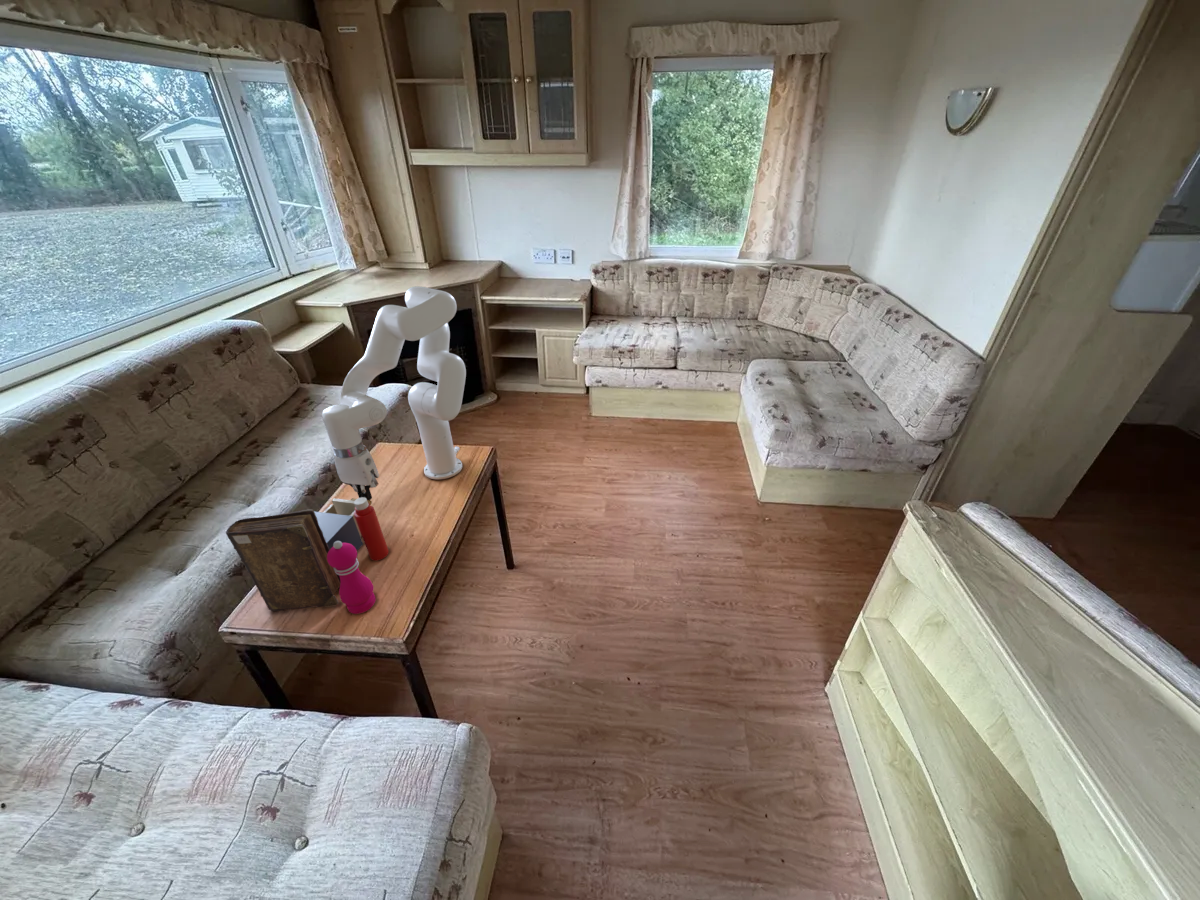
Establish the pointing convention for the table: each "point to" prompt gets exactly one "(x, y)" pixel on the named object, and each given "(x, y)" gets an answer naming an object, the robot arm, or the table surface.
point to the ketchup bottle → (370, 529)
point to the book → (287, 559)
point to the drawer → (344, 508)
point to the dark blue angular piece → (339, 529)
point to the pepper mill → (351, 578)
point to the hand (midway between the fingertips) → (366, 500)
